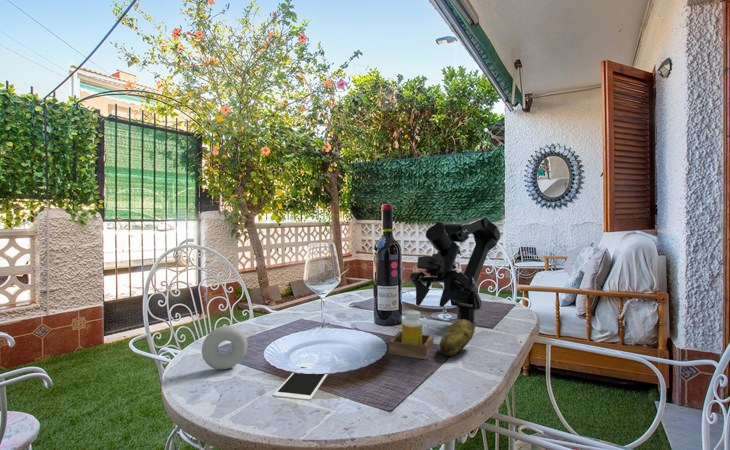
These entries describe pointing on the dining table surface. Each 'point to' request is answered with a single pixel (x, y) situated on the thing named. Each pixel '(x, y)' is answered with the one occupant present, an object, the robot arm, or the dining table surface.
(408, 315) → the supplement bottle
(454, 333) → the potato
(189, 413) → the dining table surface
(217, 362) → the donut
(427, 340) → the open wooden box
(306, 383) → the cell phone
